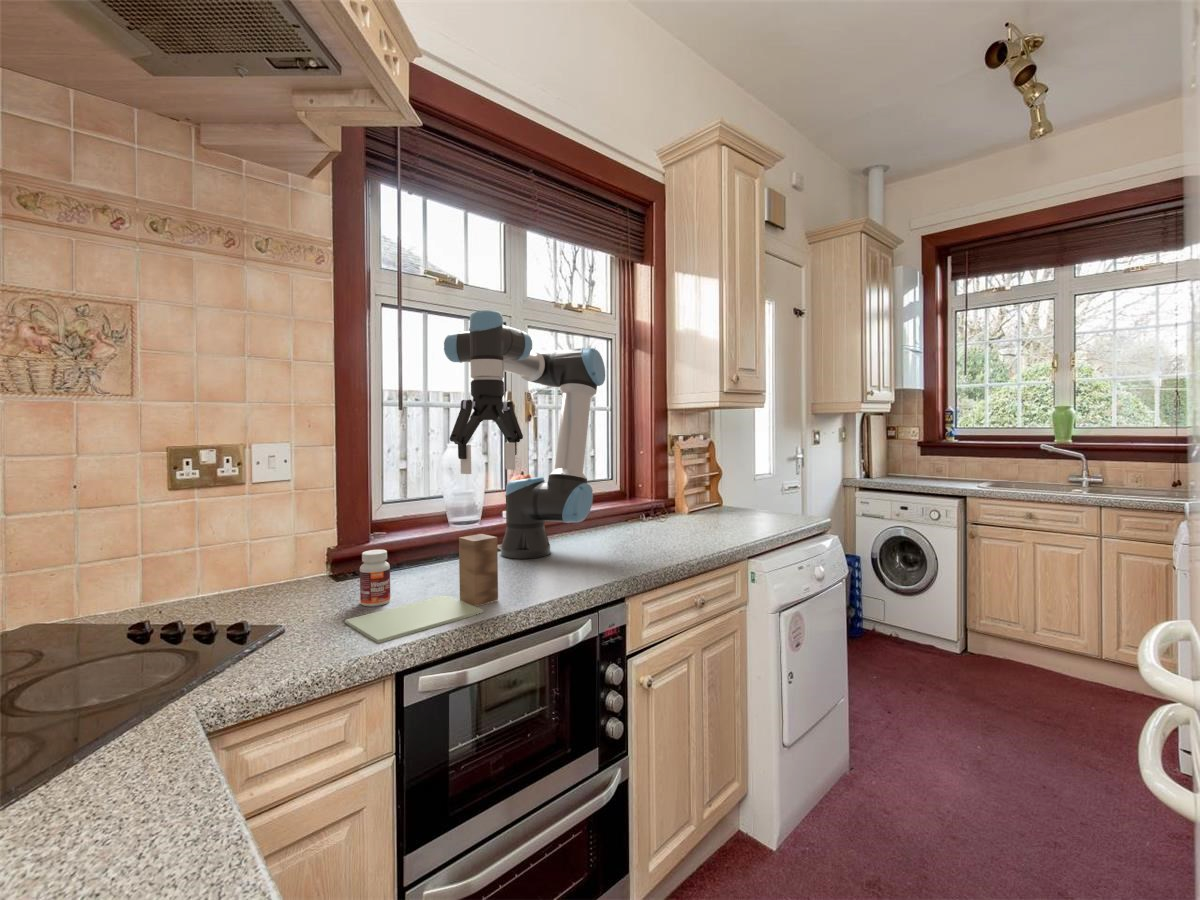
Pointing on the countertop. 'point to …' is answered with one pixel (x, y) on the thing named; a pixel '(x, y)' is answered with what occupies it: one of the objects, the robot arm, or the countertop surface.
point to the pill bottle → (374, 578)
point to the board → (412, 618)
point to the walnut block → (478, 569)
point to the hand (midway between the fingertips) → (489, 471)
